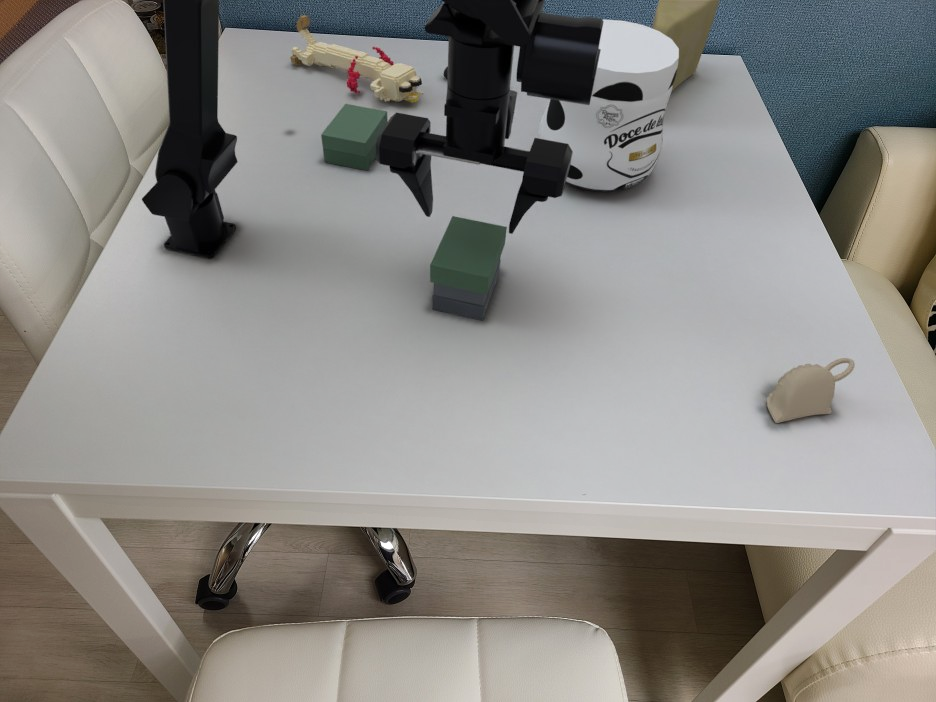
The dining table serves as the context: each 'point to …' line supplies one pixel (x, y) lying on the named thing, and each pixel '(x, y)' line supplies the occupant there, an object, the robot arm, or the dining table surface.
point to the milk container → (617, 110)
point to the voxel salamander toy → (360, 67)
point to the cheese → (686, 30)
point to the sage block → (468, 255)
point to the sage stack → (353, 136)
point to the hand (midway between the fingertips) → (470, 222)
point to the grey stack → (463, 299)
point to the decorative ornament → (805, 391)
